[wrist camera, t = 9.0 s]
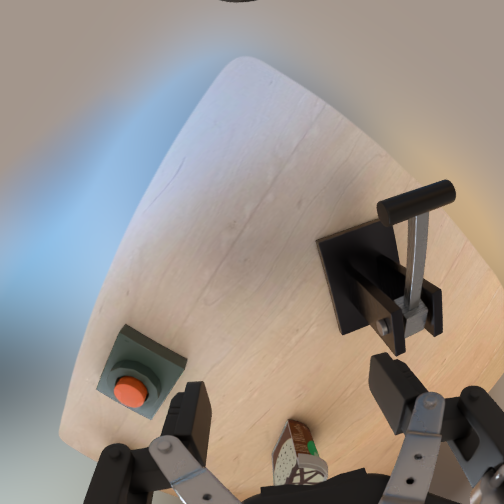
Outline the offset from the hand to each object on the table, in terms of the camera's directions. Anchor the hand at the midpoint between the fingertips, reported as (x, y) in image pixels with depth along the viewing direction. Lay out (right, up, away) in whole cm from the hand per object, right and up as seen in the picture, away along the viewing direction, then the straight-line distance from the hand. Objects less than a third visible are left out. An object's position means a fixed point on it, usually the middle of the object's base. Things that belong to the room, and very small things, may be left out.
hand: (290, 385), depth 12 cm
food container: (+5, -23, +27) cm, 36 cm away
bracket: (+11, +3, +20) cm, 23 cm away
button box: (-17, -10, +22) cm, 30 cm away
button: (-17, -11, +19) cm, 27 cm away
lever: (+10, +6, +7) cm, 13 cm away
